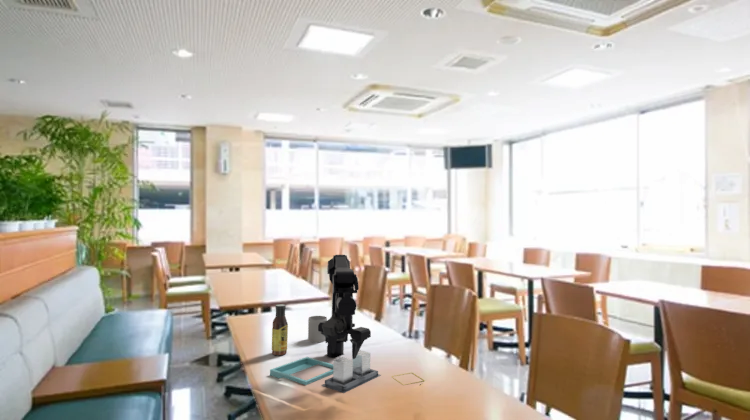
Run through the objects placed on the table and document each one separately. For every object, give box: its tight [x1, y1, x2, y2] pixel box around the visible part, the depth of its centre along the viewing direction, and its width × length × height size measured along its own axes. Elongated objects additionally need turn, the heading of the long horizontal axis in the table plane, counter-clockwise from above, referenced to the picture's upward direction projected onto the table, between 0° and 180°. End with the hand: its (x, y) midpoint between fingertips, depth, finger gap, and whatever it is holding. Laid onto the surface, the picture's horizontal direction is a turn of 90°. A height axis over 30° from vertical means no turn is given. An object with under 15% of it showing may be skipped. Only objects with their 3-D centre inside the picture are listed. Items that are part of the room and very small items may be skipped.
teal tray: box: [269, 356, 333, 386], centre depth 160 cm, size 18×18×2 cm
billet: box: [332, 356, 353, 385], centre depth 148 cm, size 4×4×8 cm
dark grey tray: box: [321, 368, 382, 394], centre depth 152 cm, size 20×10×3 cm, turn 143°
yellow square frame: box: [391, 372, 426, 386], centre depth 154 cm, size 9×9×2 cm
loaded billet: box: [351, 349, 371, 377], centre depth 156 cm, size 4×4×8 cm
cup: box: [307, 315, 328, 344], centre depth 204 cm, size 8×8×10 cm
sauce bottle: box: [271, 303, 289, 356], centre depth 183 cm, size 7×6×20 cm
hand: (343, 355), depth 148 cm, fingers open, 9 cm apart
